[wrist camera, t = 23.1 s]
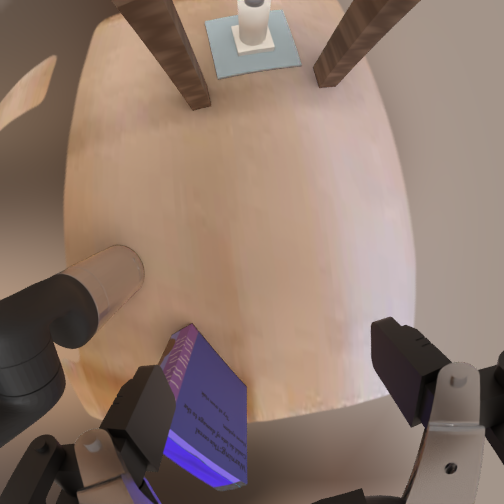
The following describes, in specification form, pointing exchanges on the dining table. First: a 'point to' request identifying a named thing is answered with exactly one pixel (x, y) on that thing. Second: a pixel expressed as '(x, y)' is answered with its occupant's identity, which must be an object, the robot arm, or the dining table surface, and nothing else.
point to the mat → (239, 65)
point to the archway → (326, 68)
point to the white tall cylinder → (253, 27)
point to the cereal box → (205, 412)
